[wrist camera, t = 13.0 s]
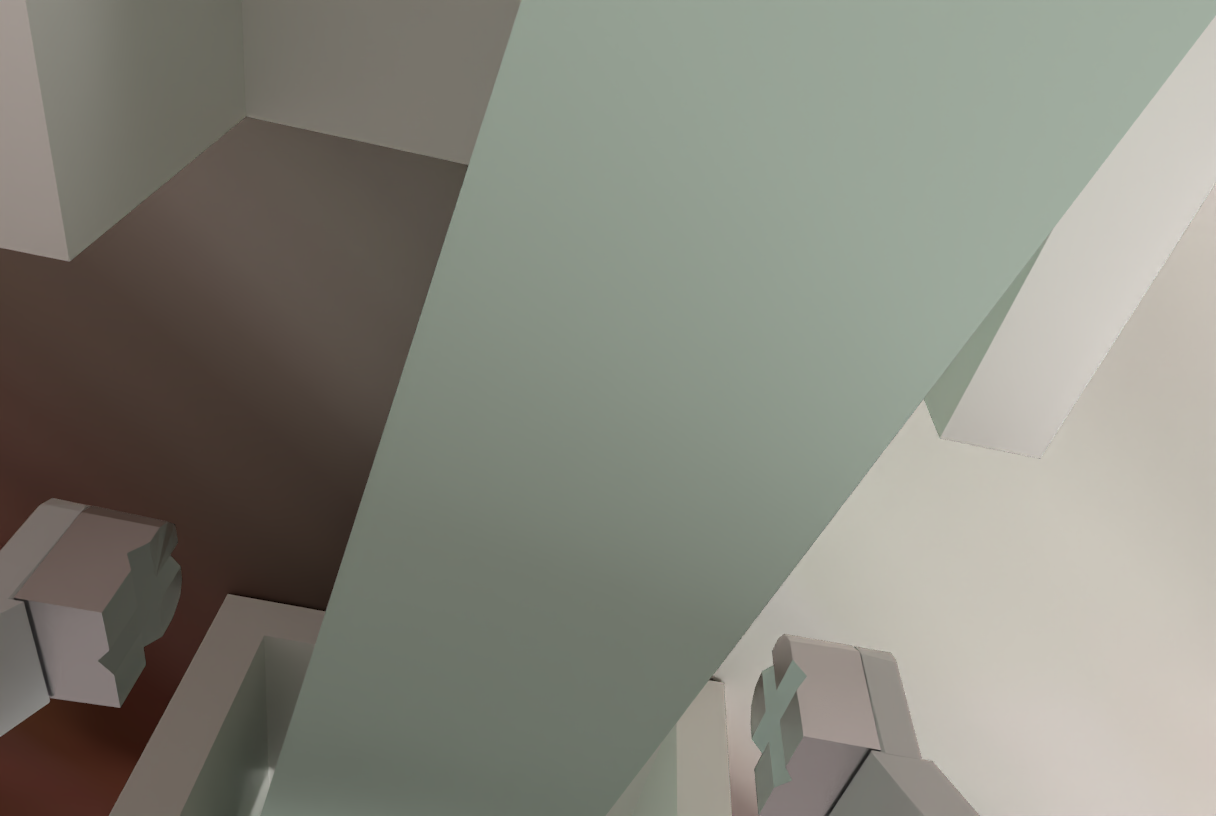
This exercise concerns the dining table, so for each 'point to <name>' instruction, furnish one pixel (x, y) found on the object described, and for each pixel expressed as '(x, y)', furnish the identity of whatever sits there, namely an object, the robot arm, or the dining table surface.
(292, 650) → the endcap
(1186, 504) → the dining table surface
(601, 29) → the slat
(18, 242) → the endcap
